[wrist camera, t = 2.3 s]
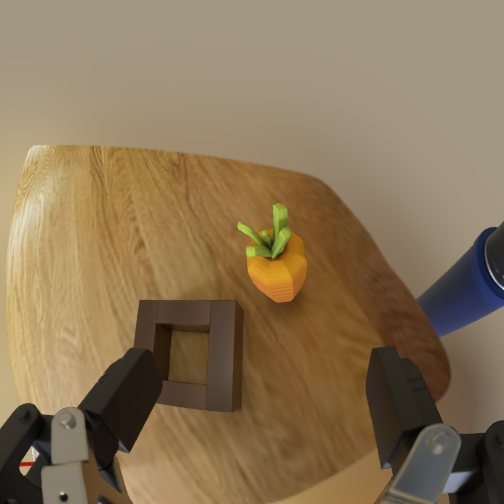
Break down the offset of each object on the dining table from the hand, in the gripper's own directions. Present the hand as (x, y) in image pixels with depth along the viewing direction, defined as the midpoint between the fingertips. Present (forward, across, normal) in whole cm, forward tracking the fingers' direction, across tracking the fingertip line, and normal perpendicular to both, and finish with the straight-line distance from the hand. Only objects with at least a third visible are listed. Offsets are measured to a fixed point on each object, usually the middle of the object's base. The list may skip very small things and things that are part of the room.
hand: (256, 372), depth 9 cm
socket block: (+15, +10, +12) cm, 22 cm away
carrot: (+20, 0, +8) cm, 22 cm away
